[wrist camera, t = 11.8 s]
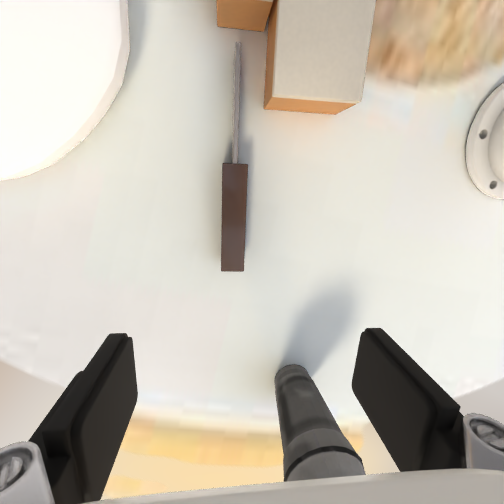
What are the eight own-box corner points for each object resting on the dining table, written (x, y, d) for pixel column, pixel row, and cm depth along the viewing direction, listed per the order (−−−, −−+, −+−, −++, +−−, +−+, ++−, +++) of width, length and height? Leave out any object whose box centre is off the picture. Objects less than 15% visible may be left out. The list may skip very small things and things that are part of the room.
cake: (348, 13, 23) (380, -28, 18) (335, 114, 25) (361, 101, 21) (269, 3, 22) (281, -42, 18) (263, 109, 25) (273, 94, 20)
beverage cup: (293, 345, 33) (392, 588, 14) (330, 376, 35) (460, 624, 16) (252, 382, 34) (290, 656, 15) (290, 410, 36) (366, 683, 17)
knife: (249, 57, 23) (252, 42, 20) (241, 261, 29) (243, 271, 26) (223, 55, 23) (224, 39, 20) (221, 261, 29) (221, 271, 26)
